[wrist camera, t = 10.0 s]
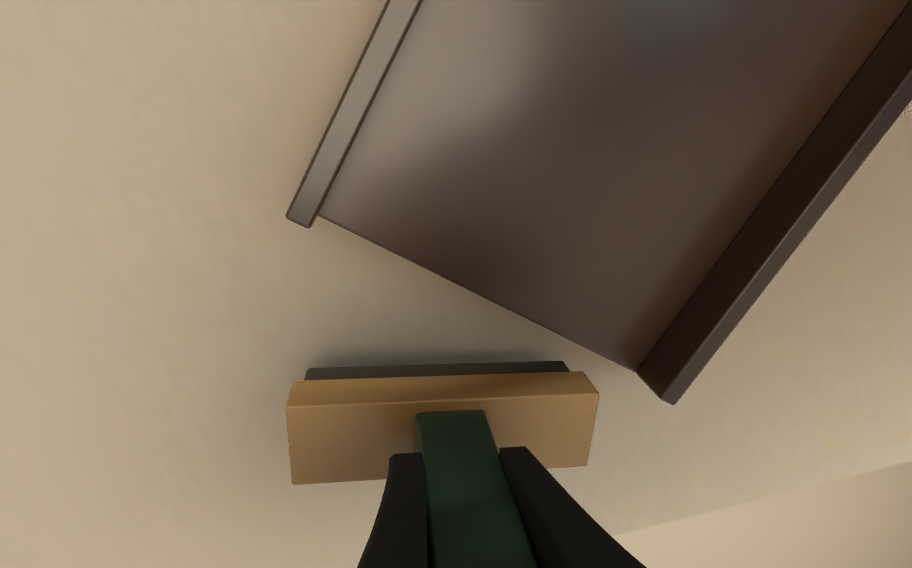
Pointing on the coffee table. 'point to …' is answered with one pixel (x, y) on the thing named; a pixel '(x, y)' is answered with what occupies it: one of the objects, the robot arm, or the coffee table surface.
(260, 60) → the coffee table surface
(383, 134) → the tray
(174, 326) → the coffee table surface
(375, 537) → the robot arm
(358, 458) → the brush
